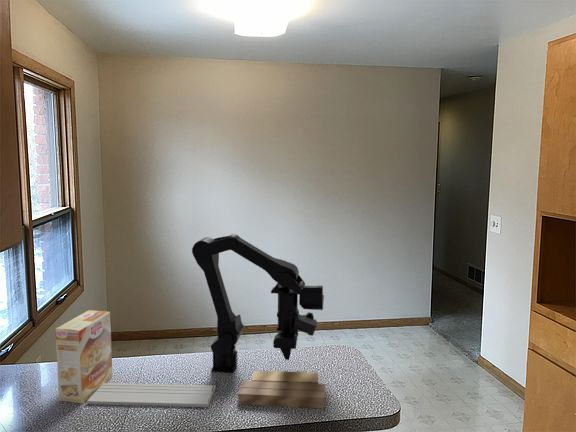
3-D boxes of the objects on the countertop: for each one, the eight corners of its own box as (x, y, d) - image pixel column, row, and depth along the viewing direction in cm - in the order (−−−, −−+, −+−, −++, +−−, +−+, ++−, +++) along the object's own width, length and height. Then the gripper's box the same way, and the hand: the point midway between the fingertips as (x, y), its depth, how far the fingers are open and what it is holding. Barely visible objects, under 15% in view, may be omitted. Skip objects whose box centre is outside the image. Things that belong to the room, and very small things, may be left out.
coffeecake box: (83, 404, 119) (79, 330, 116) (57, 401, 120) (53, 328, 117) (114, 376, 133) (111, 310, 131) (91, 374, 135) (87, 309, 132)
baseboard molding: (107, 383, 131) (87, 406, 119) (106, 373, 130) (86, 396, 118) (217, 386, 130) (208, 409, 118) (217, 376, 129) (208, 399, 117)
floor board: (238, 404, 119) (238, 393, 119) (244, 387, 128) (244, 377, 127) (324, 408, 117) (324, 397, 117) (324, 391, 126) (325, 381, 125)
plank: (251, 390, 127) (251, 380, 126) (254, 380, 132) (254, 370, 132) (318, 391, 126) (318, 382, 126) (317, 381, 131) (318, 372, 131)
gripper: (314, 320, 125) (313, 375, 127) (316, 298, 143) (315, 347, 145) (273, 318, 126) (273, 373, 128) (280, 297, 144) (279, 346, 146)
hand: (287, 359), depth 137 cm, fingers closed
